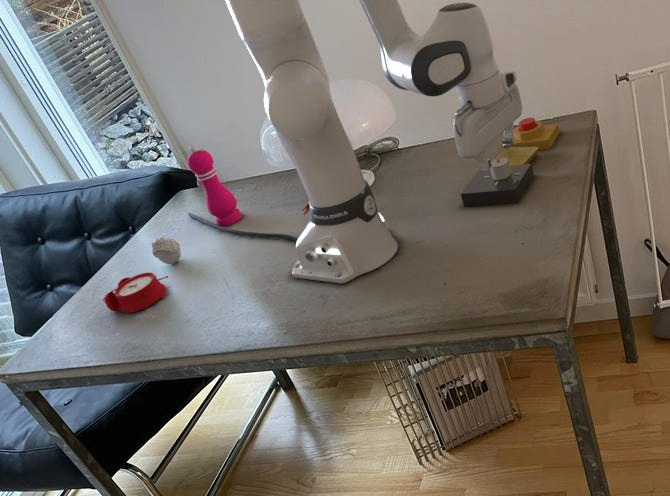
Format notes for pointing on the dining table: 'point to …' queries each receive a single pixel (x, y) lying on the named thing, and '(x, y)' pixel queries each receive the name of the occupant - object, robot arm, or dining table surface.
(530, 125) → the stop button
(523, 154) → the yellow square tray
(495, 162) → the knob
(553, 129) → the yellow button base
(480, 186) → the panel
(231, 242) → the dining table surface
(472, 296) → the dining table surface
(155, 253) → the white lumpy rounded piece
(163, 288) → the alarm clock
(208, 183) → the pepper mill
